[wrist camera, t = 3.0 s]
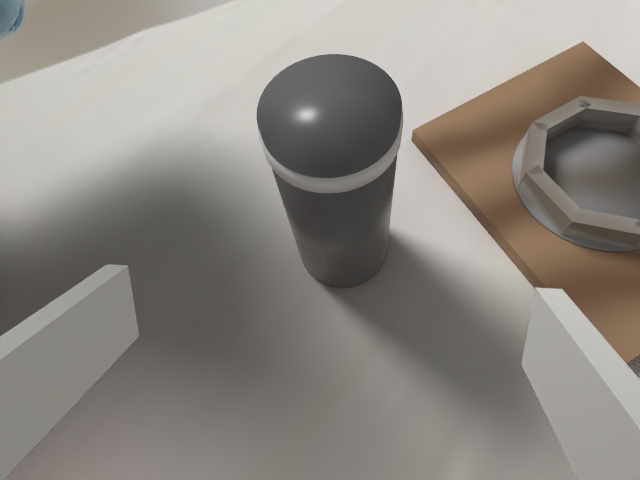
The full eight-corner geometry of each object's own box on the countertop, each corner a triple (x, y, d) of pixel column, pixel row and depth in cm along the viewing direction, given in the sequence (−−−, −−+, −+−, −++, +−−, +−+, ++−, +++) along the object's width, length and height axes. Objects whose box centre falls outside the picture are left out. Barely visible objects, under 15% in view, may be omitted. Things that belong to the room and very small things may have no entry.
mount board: (411, 140, 34) (415, 111, 31) (576, 53, 36) (594, 19, 34) (605, 373, 26) (635, 364, 23) (804, 243, 28) (854, 220, 25)
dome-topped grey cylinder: (283, 233, 32) (230, 91, 19) (358, 193, 33) (354, 32, 20) (326, 305, 29) (297, 197, 17) (405, 260, 30) (435, 124, 18)
